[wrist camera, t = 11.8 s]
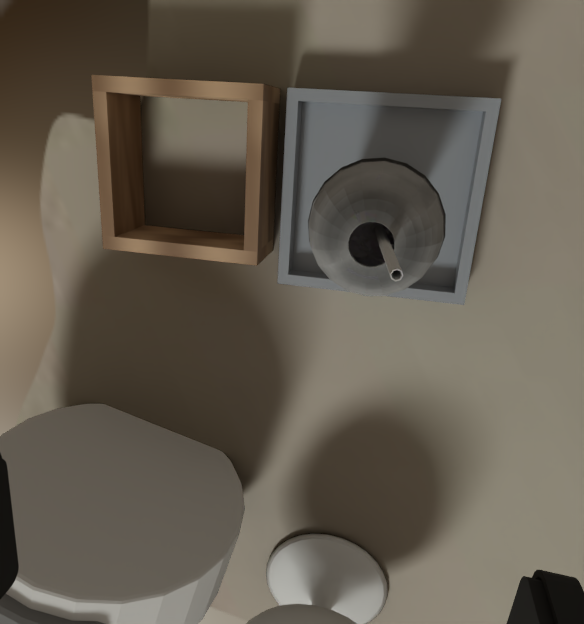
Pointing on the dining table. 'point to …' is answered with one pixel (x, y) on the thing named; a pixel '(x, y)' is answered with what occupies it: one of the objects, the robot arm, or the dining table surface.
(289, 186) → the tray
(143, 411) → the dining table surface
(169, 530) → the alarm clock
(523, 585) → the robot arm
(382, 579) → the chalice
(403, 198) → the beverage cup
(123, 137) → the holder
